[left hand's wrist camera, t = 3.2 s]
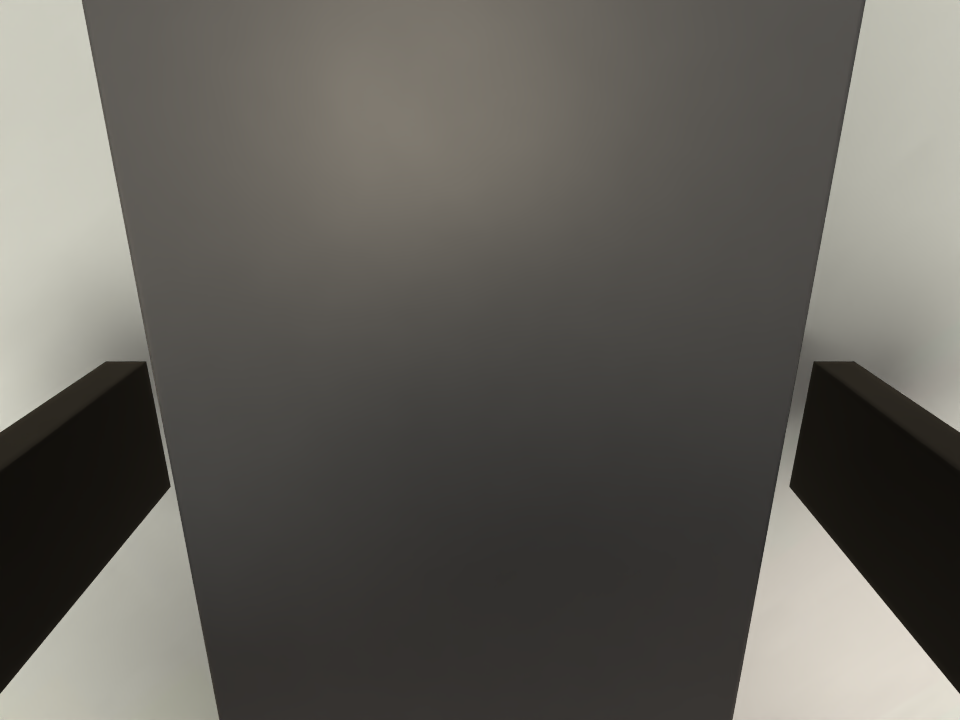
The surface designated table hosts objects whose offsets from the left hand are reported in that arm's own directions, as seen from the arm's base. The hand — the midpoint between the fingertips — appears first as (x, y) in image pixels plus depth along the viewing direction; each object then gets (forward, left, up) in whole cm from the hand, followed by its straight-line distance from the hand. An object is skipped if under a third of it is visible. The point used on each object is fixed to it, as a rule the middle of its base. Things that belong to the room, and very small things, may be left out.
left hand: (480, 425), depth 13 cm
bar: (+7, +2, -2) cm, 8 cm away
